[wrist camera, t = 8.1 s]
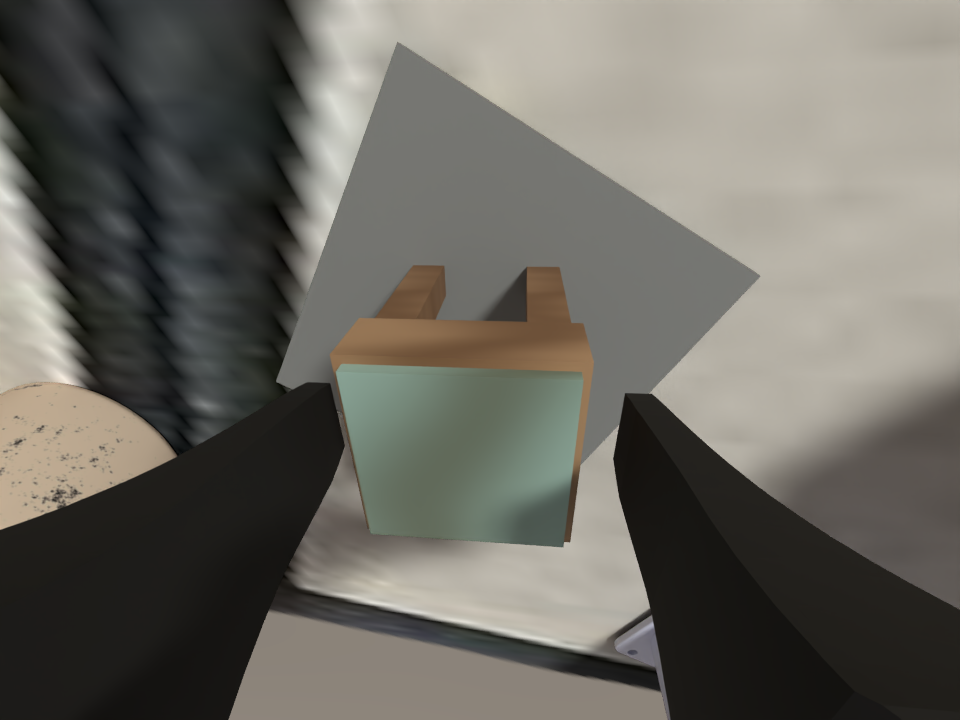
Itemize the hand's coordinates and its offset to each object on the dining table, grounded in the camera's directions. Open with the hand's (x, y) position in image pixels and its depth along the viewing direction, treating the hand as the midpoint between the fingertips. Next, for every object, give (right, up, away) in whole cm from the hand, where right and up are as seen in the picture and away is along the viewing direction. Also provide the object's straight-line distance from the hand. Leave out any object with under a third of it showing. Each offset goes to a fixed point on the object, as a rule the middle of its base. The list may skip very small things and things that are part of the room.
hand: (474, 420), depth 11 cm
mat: (0, +3, +4) cm, 5 cm away
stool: (0, +3, +4) cm, 5 cm away
